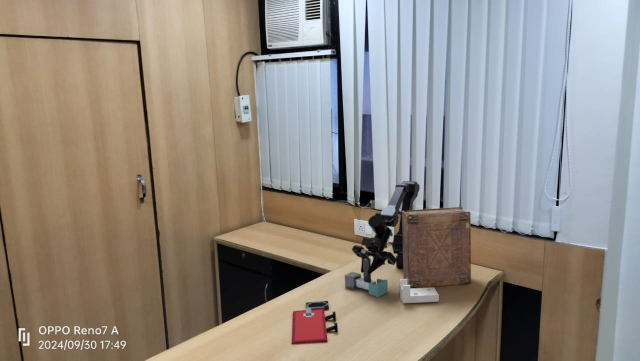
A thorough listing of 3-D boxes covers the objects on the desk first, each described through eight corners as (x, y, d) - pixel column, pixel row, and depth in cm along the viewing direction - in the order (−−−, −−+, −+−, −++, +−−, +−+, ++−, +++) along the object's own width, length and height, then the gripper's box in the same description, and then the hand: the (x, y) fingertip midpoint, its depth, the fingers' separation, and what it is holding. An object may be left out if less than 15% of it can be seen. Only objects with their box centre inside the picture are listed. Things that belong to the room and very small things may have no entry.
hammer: (348, 284, 193) (347, 256, 191) (353, 282, 195) (352, 254, 193) (371, 290, 185) (370, 261, 183) (376, 288, 187) (375, 259, 186)
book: (462, 276, 199) (462, 206, 194) (470, 284, 190) (471, 211, 185) (403, 280, 197) (401, 210, 193) (408, 288, 188) (407, 215, 184)
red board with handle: (333, 302, 179) (293, 305, 178) (332, 295, 178) (293, 298, 178) (339, 342, 149) (292, 346, 149) (339, 334, 149) (291, 338, 148)
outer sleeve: (345, 287, 193) (344, 275, 192) (352, 283, 197) (352, 271, 196) (353, 289, 190) (353, 277, 189) (361, 285, 194) (360, 274, 193)
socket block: (368, 294, 184) (368, 282, 183) (378, 289, 189) (378, 277, 188) (378, 297, 181) (378, 284, 180) (387, 292, 186) (387, 279, 185)
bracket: (403, 305, 173) (403, 286, 172) (400, 297, 180) (399, 279, 179) (438, 303, 173) (438, 284, 172) (434, 296, 180) (433, 277, 179)
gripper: (353, 226, 194) (337, 258, 188) (391, 232, 181) (375, 268, 175) (365, 240, 201) (350, 272, 194) (403, 247, 188) (387, 282, 182)
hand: (365, 273), depth 186 cm, fingers closed on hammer, 3 cm apart
